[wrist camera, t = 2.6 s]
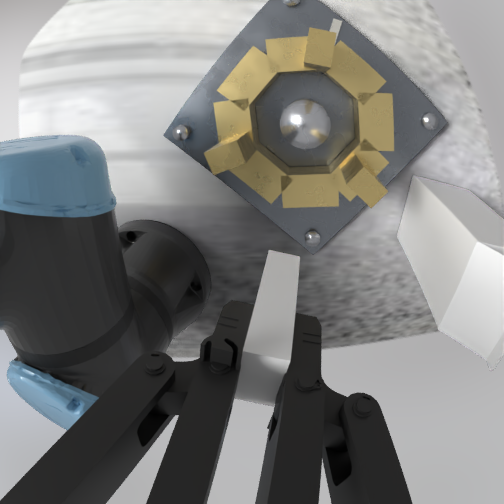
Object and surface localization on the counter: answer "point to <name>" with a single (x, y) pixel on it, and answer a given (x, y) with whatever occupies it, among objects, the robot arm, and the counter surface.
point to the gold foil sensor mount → (313, 177)
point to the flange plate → (305, 116)
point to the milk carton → (457, 263)
